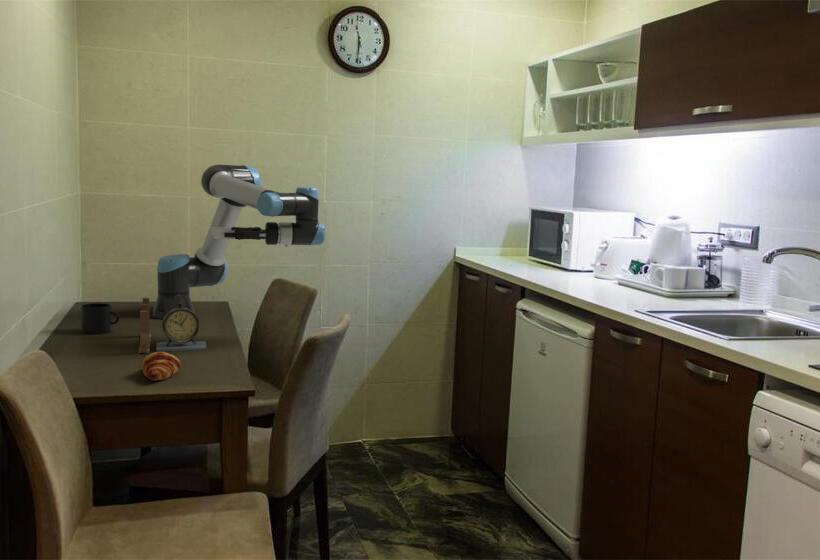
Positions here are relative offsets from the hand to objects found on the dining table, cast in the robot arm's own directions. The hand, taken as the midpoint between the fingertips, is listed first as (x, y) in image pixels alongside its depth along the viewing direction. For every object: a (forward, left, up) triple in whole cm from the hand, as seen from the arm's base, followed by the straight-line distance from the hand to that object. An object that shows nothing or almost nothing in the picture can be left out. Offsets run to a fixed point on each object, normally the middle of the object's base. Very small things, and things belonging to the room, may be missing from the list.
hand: (212, 232), depth 245 cm
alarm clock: (+8, -10, -35) cm, 38 cm away
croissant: (+39, -15, -36) cm, 56 cm away
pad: (+8, -10, -36) cm, 38 cm away
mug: (-20, -36, -36) cm, 55 cm away
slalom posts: (+2, -21, -36) cm, 42 cm away
